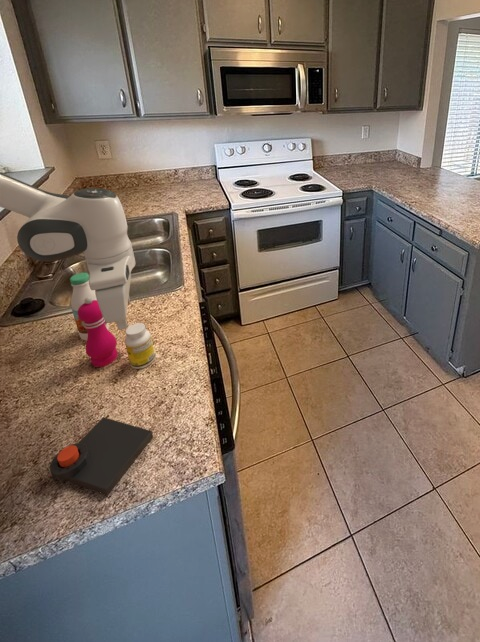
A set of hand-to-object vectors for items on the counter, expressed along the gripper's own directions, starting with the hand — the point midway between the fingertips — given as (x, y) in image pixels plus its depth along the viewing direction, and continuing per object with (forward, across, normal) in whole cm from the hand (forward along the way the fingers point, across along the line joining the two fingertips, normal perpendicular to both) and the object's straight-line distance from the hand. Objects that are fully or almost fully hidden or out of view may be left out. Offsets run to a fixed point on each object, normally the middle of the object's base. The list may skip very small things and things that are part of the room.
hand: (124, 315), depth 82 cm
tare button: (+19, +16, -12) cm, 28 cm away
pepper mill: (+22, -16, -10) cm, 29 cm away
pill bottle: (+22, -10, 0) cm, 25 cm away
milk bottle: (+22, -30, -14) cm, 40 cm away
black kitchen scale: (+22, +16, -6) cm, 28 cm away
